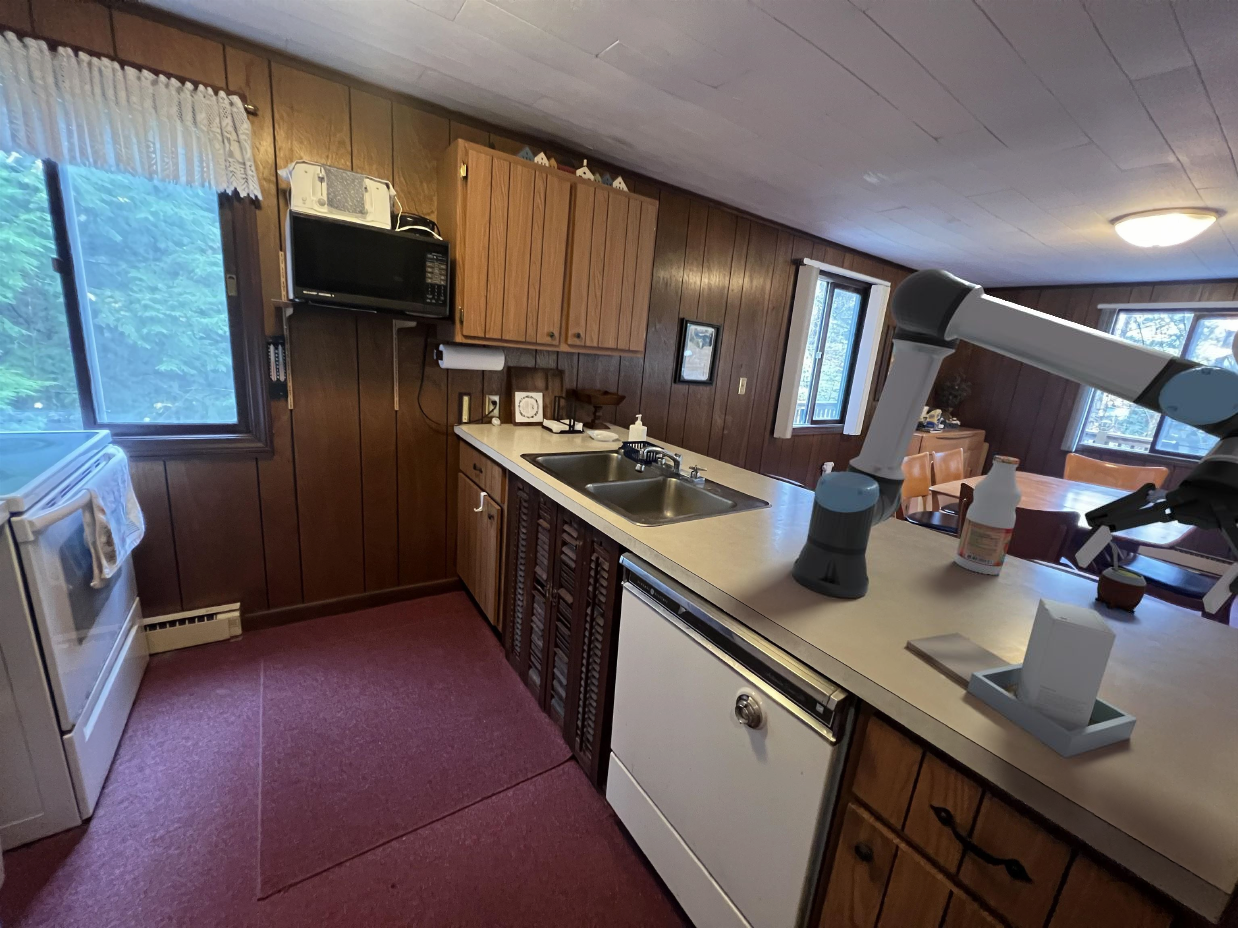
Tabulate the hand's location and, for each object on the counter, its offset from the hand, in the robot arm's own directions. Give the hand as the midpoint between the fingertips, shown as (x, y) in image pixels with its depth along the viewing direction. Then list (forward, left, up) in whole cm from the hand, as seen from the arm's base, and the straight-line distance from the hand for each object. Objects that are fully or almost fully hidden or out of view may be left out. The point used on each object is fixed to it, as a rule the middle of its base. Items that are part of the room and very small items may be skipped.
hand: (1138, 582), depth 68 cm
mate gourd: (-20, +45, -20) cm, 53 cm away
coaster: (-12, -11, -19) cm, 26 cm away
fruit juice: (-41, +33, -20) cm, 56 cm away
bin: (0, -11, -19) cm, 22 cm away
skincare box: (0, -11, -20) cm, 23 cm away
